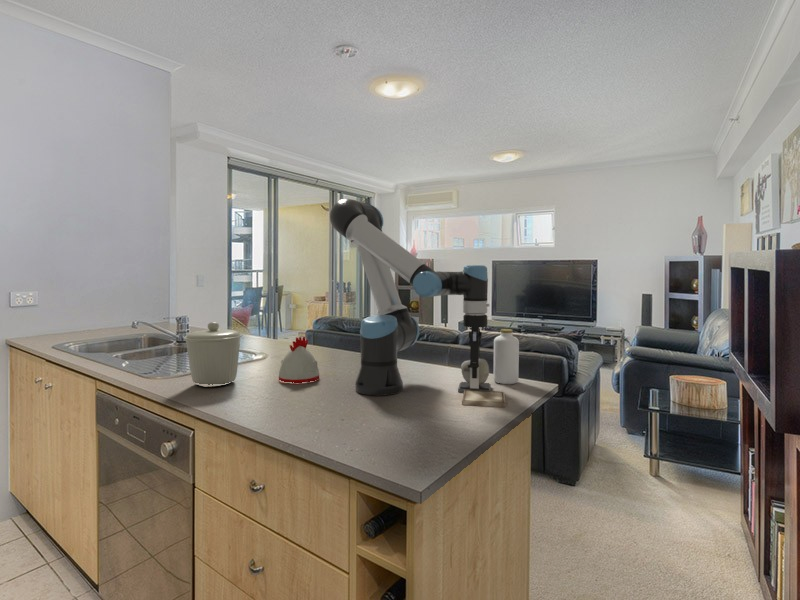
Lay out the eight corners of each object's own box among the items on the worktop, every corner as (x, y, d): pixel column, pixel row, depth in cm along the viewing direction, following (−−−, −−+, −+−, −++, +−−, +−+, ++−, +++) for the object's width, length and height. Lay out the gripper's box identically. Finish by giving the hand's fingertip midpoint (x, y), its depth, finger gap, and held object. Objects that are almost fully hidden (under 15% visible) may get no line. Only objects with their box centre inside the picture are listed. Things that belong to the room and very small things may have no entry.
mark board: (461, 404, 127) (461, 400, 127) (464, 393, 139) (464, 389, 139) (505, 406, 125) (505, 403, 125) (504, 395, 137) (504, 391, 137)
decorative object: (486, 389, 138) (486, 357, 137) (458, 387, 141) (458, 355, 140) (490, 383, 146) (491, 352, 145) (464, 380, 149) (464, 351, 148)
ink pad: (458, 392, 140) (458, 387, 140) (459, 385, 148) (459, 381, 148) (490, 393, 138) (490, 389, 138) (490, 387, 146) (490, 382, 146)
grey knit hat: (327, 378, 160) (327, 336, 159) (299, 386, 148) (298, 341, 147) (299, 373, 167) (298, 333, 166) (270, 381, 156) (269, 338, 155)
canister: (249, 386, 148) (248, 322, 147) (190, 394, 138) (188, 326, 137) (235, 375, 163) (234, 318, 162) (181, 382, 153) (179, 321, 152)
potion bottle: (519, 385, 148) (519, 331, 147) (493, 384, 150) (494, 331, 149) (517, 379, 156) (518, 328, 155) (493, 378, 158) (493, 328, 157)
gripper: (487, 317, 131) (486, 393, 132) (487, 311, 152) (487, 377, 153) (461, 317, 132) (460, 392, 133) (465, 311, 153) (465, 376, 154)
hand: (475, 384), depth 143 cm, fingers closed on decorative object, 9 cm apart
